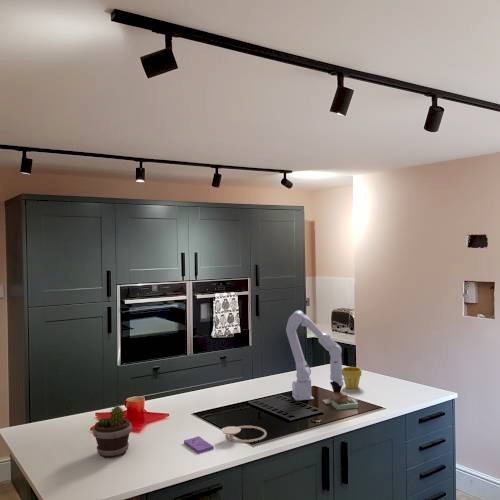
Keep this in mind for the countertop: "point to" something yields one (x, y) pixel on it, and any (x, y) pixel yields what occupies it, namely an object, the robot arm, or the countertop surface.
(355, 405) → the green u-shaped piece
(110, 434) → the flowerpot
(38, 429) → the countertop surface
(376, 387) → the countertop surface
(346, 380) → the plant pot
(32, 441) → the countertop surface
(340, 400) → the walnut block
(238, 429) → the hand towel holder
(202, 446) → the sponges
